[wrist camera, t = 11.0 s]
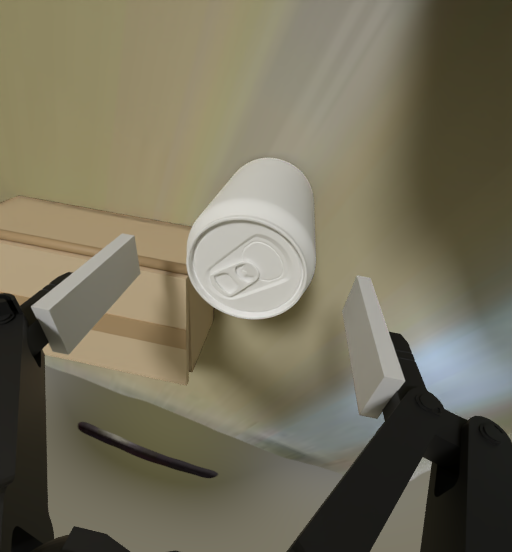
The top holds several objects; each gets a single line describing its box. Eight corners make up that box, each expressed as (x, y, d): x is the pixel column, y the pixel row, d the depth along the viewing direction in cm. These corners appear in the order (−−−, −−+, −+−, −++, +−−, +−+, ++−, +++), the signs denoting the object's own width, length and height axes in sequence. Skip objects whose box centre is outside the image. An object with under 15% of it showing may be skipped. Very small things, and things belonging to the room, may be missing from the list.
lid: (-63, 215, 23) (-78, 219, 22) (190, 263, 22) (185, 269, 21) (-3, 335, 30) (-12, 343, 29) (190, 377, 29) (186, 386, 28)
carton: (18, 195, 30) (-63, 226, 23) (216, 231, 28) (188, 275, 22) (56, 288, 37) (3, 331, 31) (213, 320, 36) (192, 372, 29)
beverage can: (329, 215, 25) (342, 297, 16) (259, 253, 29) (233, 339, 19) (283, 135, 22) (262, 175, 12) (210, 189, 26) (150, 253, 16)
